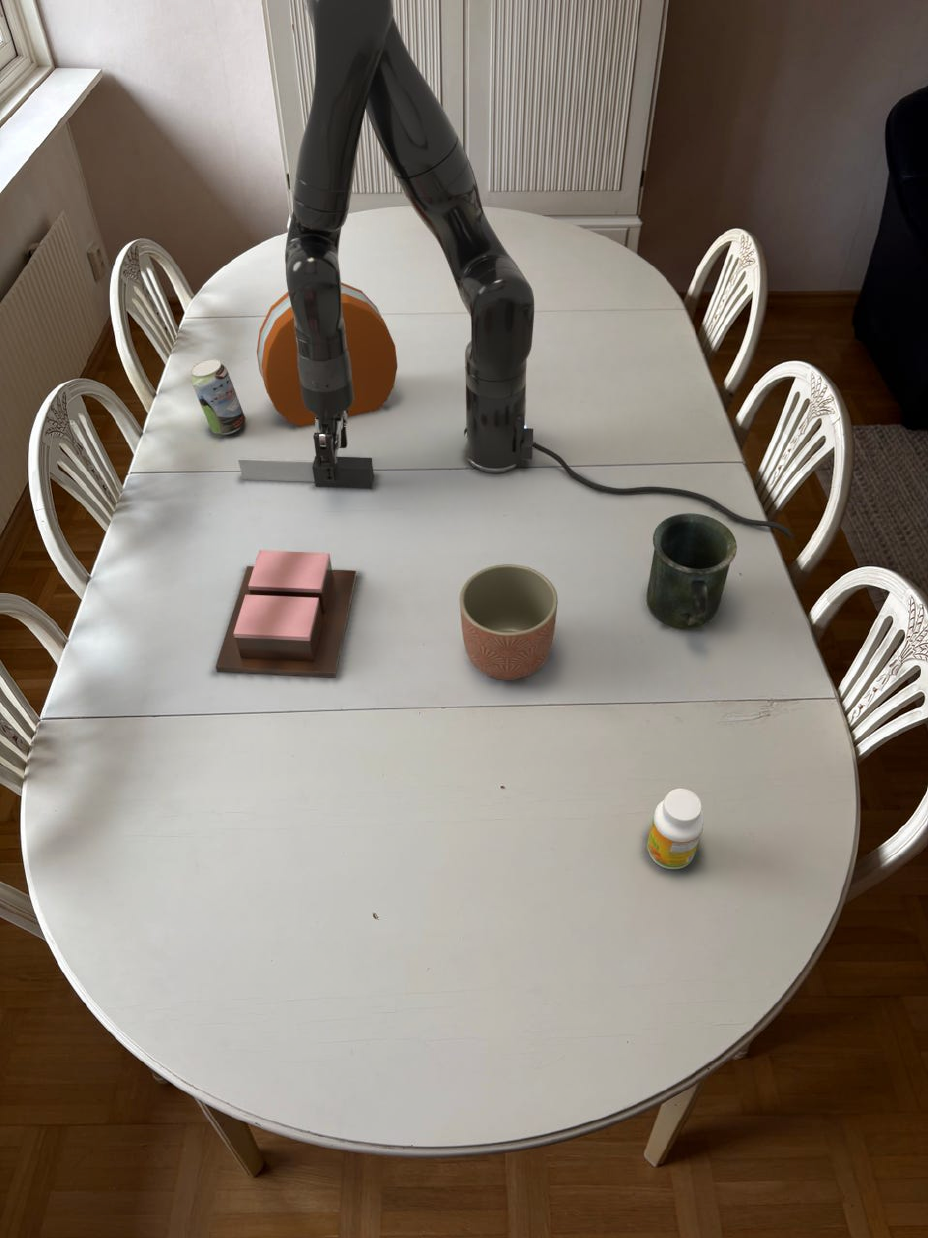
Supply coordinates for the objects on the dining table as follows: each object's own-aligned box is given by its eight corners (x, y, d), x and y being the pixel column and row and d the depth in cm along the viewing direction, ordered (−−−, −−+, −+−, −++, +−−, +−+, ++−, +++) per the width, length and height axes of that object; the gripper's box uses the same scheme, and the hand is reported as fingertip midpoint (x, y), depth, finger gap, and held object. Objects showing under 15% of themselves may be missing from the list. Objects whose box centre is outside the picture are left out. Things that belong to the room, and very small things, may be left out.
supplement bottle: (642, 830, 116) (652, 784, 108) (688, 826, 116) (701, 780, 109) (652, 872, 112) (663, 828, 105) (699, 868, 112) (714, 824, 105)
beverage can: (239, 441, 166) (225, 379, 157) (198, 436, 167) (181, 375, 158) (252, 418, 170) (239, 357, 161) (211, 413, 171) (196, 353, 162)
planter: (447, 636, 136) (444, 580, 128) (529, 608, 139) (531, 552, 131) (484, 702, 129) (483, 647, 120) (569, 671, 132) (575, 616, 124)
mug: (714, 574, 143) (729, 511, 134) (731, 652, 133) (749, 590, 125) (638, 575, 143) (648, 512, 134) (650, 652, 134) (662, 591, 125)
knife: (374, 477, 159) (371, 457, 156) (371, 488, 157) (369, 469, 154) (244, 472, 160) (240, 453, 158) (241, 484, 159) (236, 464, 156)
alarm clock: (386, 374, 178) (375, 254, 161) (401, 405, 172) (392, 284, 155) (264, 399, 174) (240, 279, 157) (275, 432, 167) (251, 310, 151)
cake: (356, 575, 144) (352, 545, 140) (335, 677, 132) (329, 648, 127) (248, 570, 146) (240, 540, 141) (216, 671, 133) (207, 642, 128)
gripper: (343, 404, 138) (353, 494, 150) (358, 347, 148) (366, 436, 160) (290, 402, 139) (304, 492, 151) (308, 346, 148) (320, 434, 160)
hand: (336, 463), depth 155 cm, fingers open, 8 cm apart
